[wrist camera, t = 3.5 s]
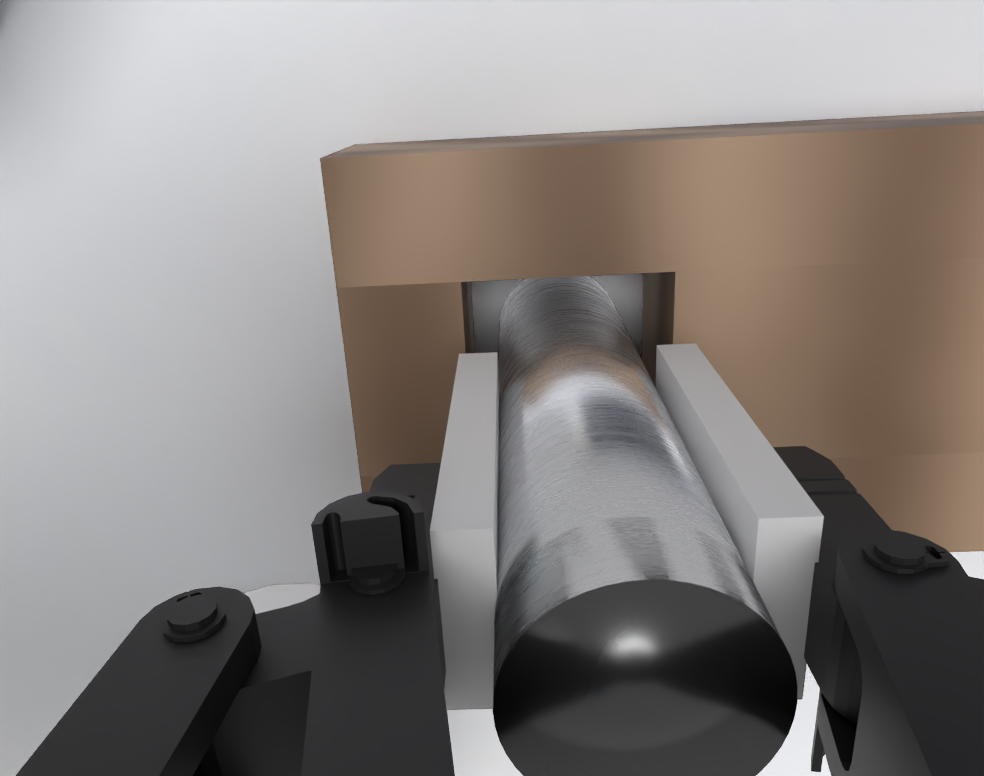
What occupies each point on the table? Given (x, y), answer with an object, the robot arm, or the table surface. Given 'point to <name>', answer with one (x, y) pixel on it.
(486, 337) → the table surface
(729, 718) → the lock pin
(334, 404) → the table surface
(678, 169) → the mount block
